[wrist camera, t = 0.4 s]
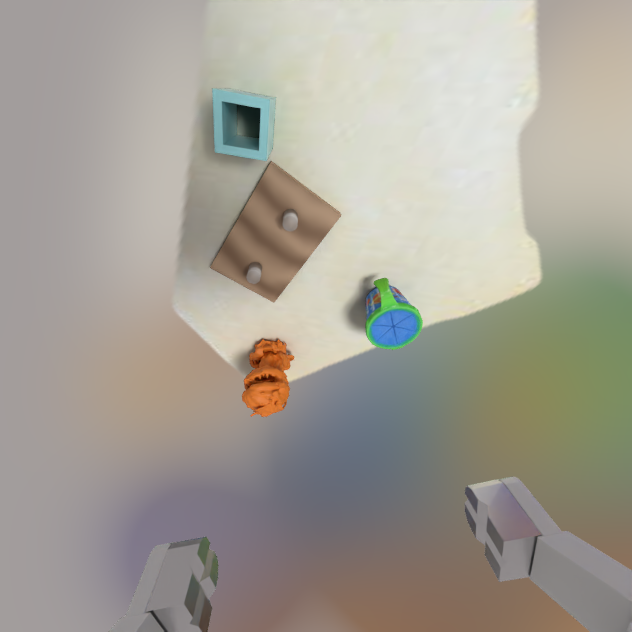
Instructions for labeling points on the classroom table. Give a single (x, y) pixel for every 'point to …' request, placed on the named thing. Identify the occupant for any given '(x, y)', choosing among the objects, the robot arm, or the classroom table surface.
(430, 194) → the classroom table surface
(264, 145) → the sleeve block
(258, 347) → the orange animal figurine
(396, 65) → the classroom table surface
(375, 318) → the snack cup
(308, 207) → the pin plate
